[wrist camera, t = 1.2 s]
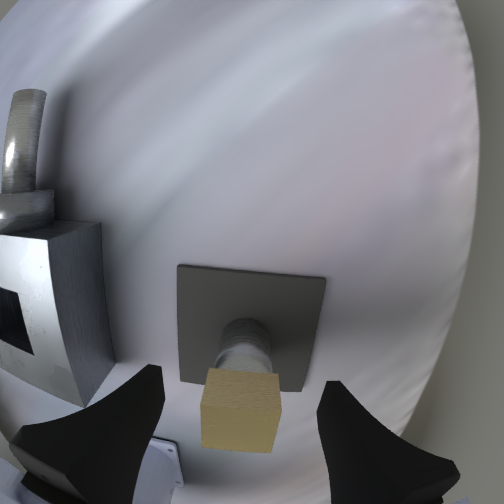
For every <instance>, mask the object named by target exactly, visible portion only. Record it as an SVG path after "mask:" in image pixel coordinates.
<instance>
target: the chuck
mask: <svg viewBox="0 0 504 504" xmlns="http://www.w3.org/2000/svg"><path fill="white" fill-rule="evenodd" d="M46 95H47V93H46V92H45V91H42V90H38V89H24V90H19V91H17V92H15V93H14V94H13V97H12V102H11V107H10V112H9V117H8V123H7V129H6V136H5V144H4V154H3V166H2V189H1V193H0V368H2V369H4V370H5V371H7V372H9V373H11V374H12V375H14V376H16V377H18V378H20V379H21V380H23V381H25V382H27V383H29V384H31V385H33V386H35V387H37V388H39V389H41V390H43V391H45V392H47V393H49V394H51V395H54V396H56V397H58V398H60V399H63V400H65V401H68V402H70V403H72V404H75V405H77V406H80V407H83V408H86V406H87V405H88V403H89V402H90V400H91V399H92V397H93V396H94V394H95V393H96V391H97V390H98V389H99V387H100V386H101V384H102V383H103V381H104V380H105V378H106V377H107V376H108V374H109V373H110V371H111V370H112V368H113V367H114V366H115V364H116V363H115V358H114V352H113V347H112V341H111V335H110V329H109V322H108V315H107V307H106V299H105V289H104V278H103V264H102V244H101V223H98V222H82V221H65V220H54V189H43V190H35V187H36V166H37V154H38V144H39V136H40V128H41V122H42V116H43V110H44V105H45V100H46Z"/></svg>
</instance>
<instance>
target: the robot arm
mask: <svg viewBox="0 0 504 504" xmlns="http://www.w3.org/2000/svg"><path fill="white" fill-rule="evenodd" d="M164 402H165V392H164V384H163V376H162V367H161V366H156V365H151V364H148V365H146V366H145V367H144V368H143V369H142V370H140V371H139V372H138V373H137V374H135V375H134V376H133V377H132V378H131V379H129V380H128V381H127V382H125V383H124V384H123V385H122V386H120V387H119V388H118V389H116V390H115V391H113V392H112V393H110V394H109V395H107V396H106V397H104V398H103V399H101V400H100V401H98V402H96V403H95V404H93V405H91V406H89V407H87V408H85V409H83V410H81V411H78V412H76V413H73V414H71V415H68V416H65V417H62V418H59V419H56V420H52V421H48V422H44V423H38V424H32V425H24V426H22V427H21V429H20V430H19V431H18V432H17V434H16V435H15V436H14V438H13V439H12V440H11V442H10V443H9V448H10V450H11V452H12V453H13V455H14V456H15V457H16V458H17V459H18V461H19V462H20V463H21V464H22V465H23V467H24V468H25V469H26V470H27V473H26V474H25V475H24V474H23V473H22V472H20V471H19V470H18V469H16V468H15V467H14V466H12V465H11V464H10V463H8V462H7V461H5V460H4V459H3V458H1V459H0V504H170V503H171V499H172V495H173V490H174V487H179V488H183V487H184V481H183V477H182V472H181V468H180V463H179V458H178V452H177V447H176V445H175V444H174V443H172V442H169V441H164V440H159V439H155V438H152V435H153V433H154V431H155V428H156V426H157V424H158V421H159V419H160V416H161V413H162V409H163V406H164ZM317 422H318V431H319V435H320V439H321V443H322V447H323V451H324V455H325V459H326V463H327V467H328V473H329V480H330V490H331V504H442V503H443V499H442V496H443V495H444V494H445V493H446V492H447V491H448V490H449V489H451V488H452V487H453V486H454V485H455V484H456V483H457V482H458V480H459V479H460V473H459V471H458V469H457V467H456V465H455V464H454V462H453V461H452V460H448V459H445V458H442V457H438V456H435V455H433V454H431V453H428V452H426V451H424V450H421V449H419V448H417V447H415V446H413V445H412V444H410V443H408V442H406V441H405V440H403V439H402V438H400V437H398V436H397V435H396V434H394V433H393V432H391V431H390V430H389V429H387V428H386V427H385V426H384V425H382V424H381V423H380V422H379V421H378V420H377V419H376V418H374V417H373V416H372V415H371V414H370V413H369V412H368V411H367V410H366V409H365V408H364V407H363V406H362V405H361V404H360V403H359V402H358V400H357V399H356V398H355V397H354V396H353V395H352V394H351V393H350V392H349V390H348V389H347V388H346V387H345V386H344V385H343V384H342V383H341V382H340V381H327V382H326V385H325V388H324V391H323V394H322V397H321V400H320V403H319V406H318V409H317ZM452 504H471V503H470V501H469V499H468V497H467V496H466V497H464V498H462V499H460V500H458V501H456V502H454V503H452Z"/></svg>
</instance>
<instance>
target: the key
mask: <svg viewBox="0 0 504 504" xmlns="http://www.w3.org/2000/svg"><path fill="white" fill-rule="evenodd" d="M200 410H201V433H202V447H205V448H213V449H221V450H231V451H243V452H260V453H271V451H272V447H273V444H274V440H275V436H276V432H277V428H278V424H279V420H280V416H281V412H282V408H281V398H280V387H279V377H278V374H275V373H272V360H271V347H270V335H269V332H268V330H267V328H266V327H265V326H264V325H263V324H262V323H260V322H259V321H257V320H254V319H250V318H240V319H236V320H233V321H231V322H230V323H228V324H227V325H226V326H225V328H224V329H223V331H222V335H221V339H220V343H219V348H218V352H217V357H216V361H215V366H214V368H209V371H208V375H207V379H206V383H205V387H204V391H203V395H202V399H201V404H200Z"/></svg>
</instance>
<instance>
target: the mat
mask: <svg viewBox="0 0 504 504" xmlns="http://www.w3.org/2000/svg"><path fill="white" fill-rule="evenodd" d="M325 283H326V279H325V278H322V277H309V276H297V275H285V274H273V273H262V272H251V271H240V270H229V269H219V268H209V267H199V266H189V265H178V266H177V325H178V351H179V368H180V381H182V382H188V383H195V384H202V385H205V383H206V379H207V375H208V371H209V368H214V366H215V361H216V357H217V352H218V348H219V343H220V339H221V335H222V331H223V329H224V328H225V326H226V325H227V324H228V323H230V322H231V321H233V320H236V319H240V318H250V319H254V320H257V321H259V322H260V323H262V324H263V325H264V326H265V327H266V328H267V330H268V332H269V335H270V347H271V360H272V373H275V374H278V377H279V387H280V391H283V392H301V391H302V387H303V383H304V380H305V376H306V372H307V368H308V364H309V360H310V355H311V351H312V347H313V342H314V338H315V333H316V329H317V324H318V319H319V315H320V310H321V305H322V299H323V294H324V289H325Z"/></svg>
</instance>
